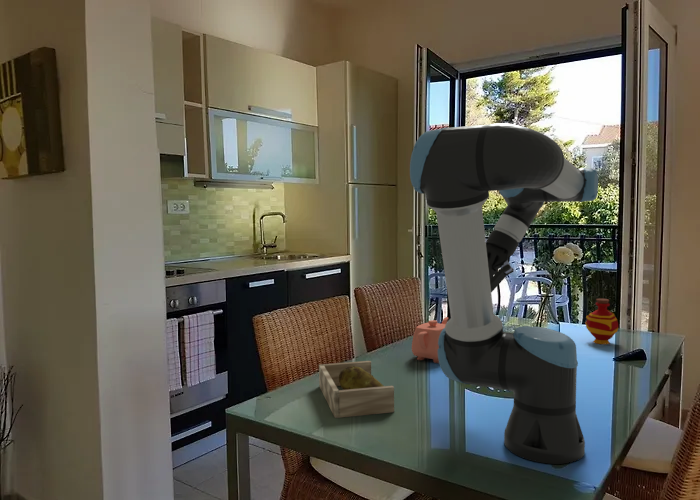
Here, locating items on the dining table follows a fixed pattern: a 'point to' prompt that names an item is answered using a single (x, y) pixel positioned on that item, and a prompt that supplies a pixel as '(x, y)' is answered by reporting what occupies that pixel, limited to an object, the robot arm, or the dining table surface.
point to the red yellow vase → (602, 323)
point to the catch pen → (353, 393)
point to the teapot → (427, 340)
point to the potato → (357, 379)
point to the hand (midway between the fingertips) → (459, 314)
